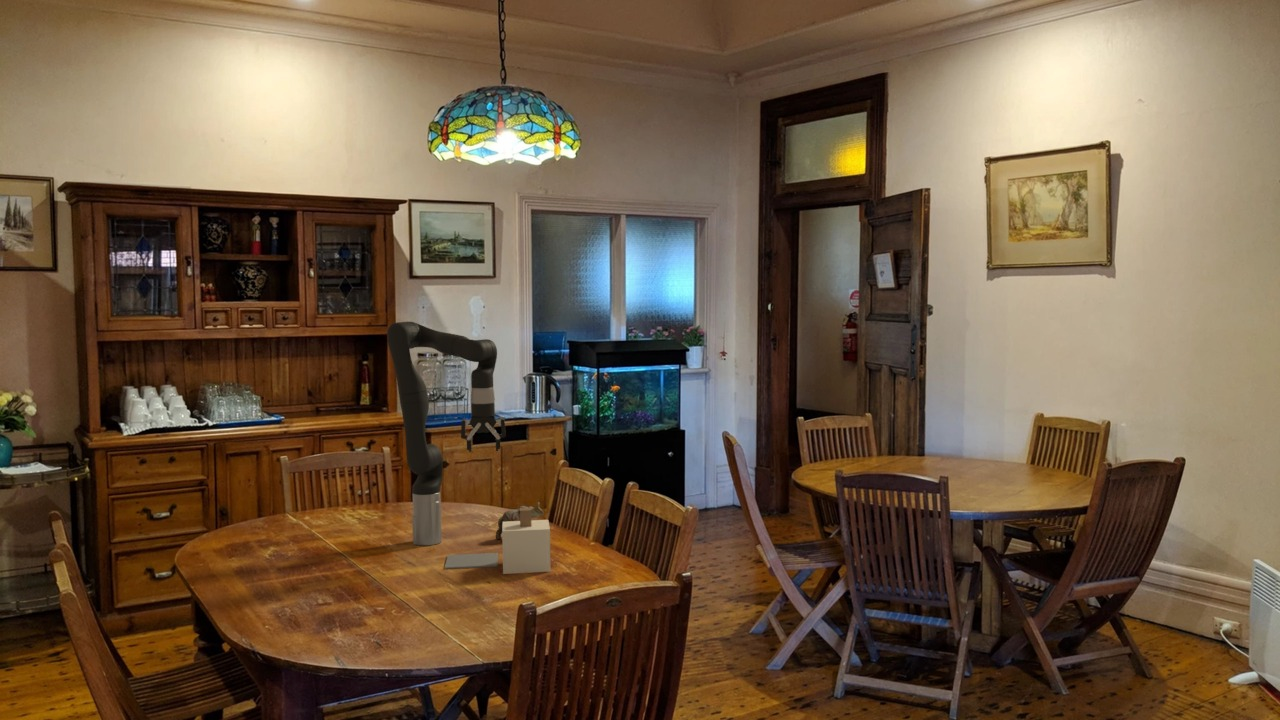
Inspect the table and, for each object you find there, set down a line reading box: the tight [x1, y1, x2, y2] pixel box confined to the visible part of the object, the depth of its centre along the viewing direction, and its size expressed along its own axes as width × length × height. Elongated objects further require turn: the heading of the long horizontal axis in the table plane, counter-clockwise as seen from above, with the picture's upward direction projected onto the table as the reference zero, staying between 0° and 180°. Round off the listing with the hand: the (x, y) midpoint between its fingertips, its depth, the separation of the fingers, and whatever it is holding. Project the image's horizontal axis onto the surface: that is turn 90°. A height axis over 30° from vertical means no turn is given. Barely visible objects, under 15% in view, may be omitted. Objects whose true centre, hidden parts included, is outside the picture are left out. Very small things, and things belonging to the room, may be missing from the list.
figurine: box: [495, 501, 544, 540], centre depth 325 cm, size 10×14×15 cm, turn 88°
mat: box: [444, 552, 499, 570], centre depth 298 cm, size 16×14×1 cm
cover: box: [501, 507, 552, 575], centre depth 291 cm, size 14×12×18 cm
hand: (483, 451), depth 307 cm, fingers open, 8 cm apart
